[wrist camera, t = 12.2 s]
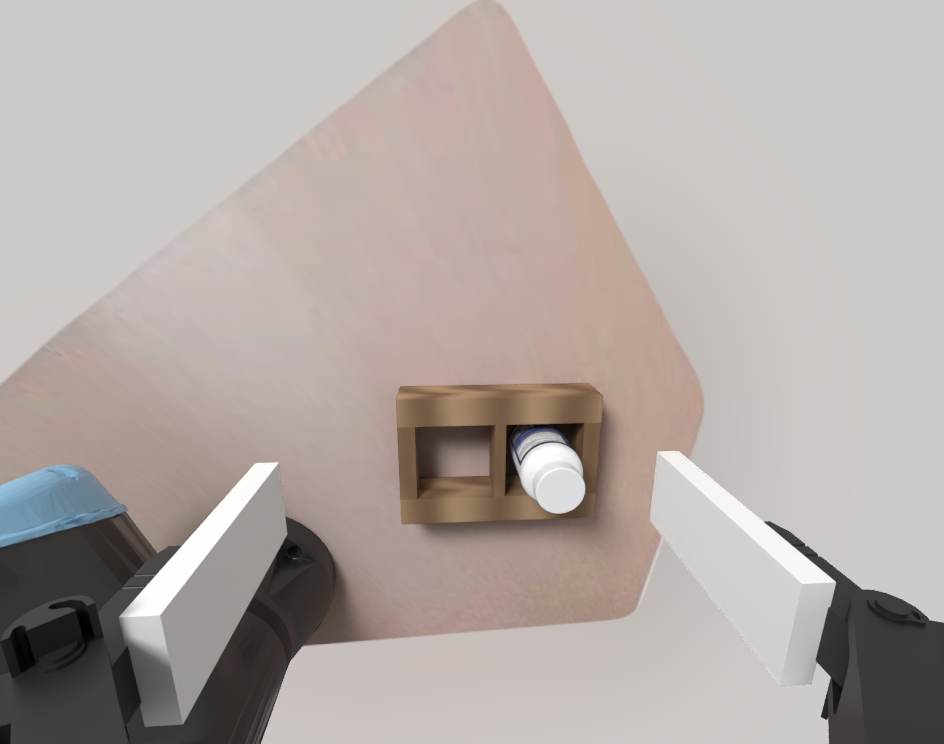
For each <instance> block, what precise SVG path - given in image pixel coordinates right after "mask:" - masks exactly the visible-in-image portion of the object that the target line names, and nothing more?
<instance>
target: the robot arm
mask: <svg viewBox="0 0 944 744" xmlns="http://www.w3.org/2000/svg"><path fill="white" fill-rule="evenodd" d="M126 511H128V510H127V507H126V506H125V505H121V504H119V503H118V502H117V501H116V500H115V498H114V497H113V496H112V495H111V494H110V493H109V492H108V491H107V490H106V488H105V487H104V486H103V485H102V484H101V483H100V482H99V481H98V480H97V479H96V477H95V476H94V475H93V474H92V473H91V472H89V471H88V470H86V469H84V468H82V467H79V466H76V465H69V464H60V465H54V466H50V467H46V468H43V469H41V470H38V471H35V472H33V473H30V474H28V475H25V476H23V477H20V478H18V479H15V480H12V481H10V482H7V483H5V484H2V485H0V744H261V741H262V739H263V736H264V732H265V730H266V727H267V724H268V721H269V718H270V716H271V713H272V710H273V707H274V704H275V702H276V699H277V696H278V693H279V690H280V687H281V684H282V681H283V679H284V676H285V673H286V670H287V668H288V665H289V663H290V661H291V659H292V658H293V657H294V656H295V655H296V653H297V652H298V651H299V650H300V649H301V647H302V646H303V645H304V644H305V642H306V641H307V640H308V638H309V637H310V636H311V635H312V633H313V632H314V631H315V630H316V629H317V628H318V626H319V625H320V624H321V622H322V621H323V619H324V617H325V615H326V613H327V610H328V608H329V605H330V601H331V598H332V595H333V592H334V588H335V569H334V565H333V562H332V559H331V556H330V554H329V552H328V550H327V549H326V547H325V546H324V544H323V543H322V542H321V541H320V539H319V538H318V537H317V536H316V535H315V534H314V533H312V532H311V531H310V530H309V529H307V528H306V527H304V526H303V525H301V524H300V523H298V522H296V521H294V520H292V519H289V518H287V517H285V510H284V501H283V493H282V484H281V476H280V467H279V462H278V463H255V464H254V465H253V467H252V468H251V469H250V470H249V471H248V472H247V473H246V474H245V476H244V477H243V478H242V479H241V480H240V481H239V482H238V483H237V485H236V486H235V487H234V488H233V489H232V490H231V491H230V492H229V494H228V495H227V496H226V497H225V498H224V499H223V500H222V502H221V503H220V504H219V505H218V506H217V507H216V508H215V509H214V511H213V512H212V513H211V514H210V515H209V516H208V517H207V518H206V520H205V521H204V522H203V523H202V524H201V525H200V526H199V527H198V529H197V530H196V531H195V532H194V533H193V534H192V535H191V536H190V538H189V539H188V540H187V541H186V542H185V543H184V544H183V545H182V546H169V547H167V548H166V549H164V550H162V551H161V552H159V553H157V552H156V550H155V549H154V548H153V547H152V545H151V544H150V543H149V541H148V540H147V539H146V538H145V536H144V535H143V534H142V533H141V531H140V530H139V529H138V527H137V526H136V525H135V523H134V522H133V521H132V519H131V518H130V517H129V515H128V514H127V513H126ZM650 521H651V523H652V524H653V525H654V526H655V528H656V529H657V530H658V532H659V533H660V534H661V535H662V537H663V538H664V539H665V540H666V542H667V543H668V544H669V545H670V547H671V548H672V549H673V551H674V552H675V553H676V554H677V556H678V557H679V558H680V560H681V561H682V562H683V563H684V565H685V566H686V567H687V568H688V570H689V571H690V572H691V574H692V575H693V576H694V577H695V579H696V580H697V581H698V583H699V584H700V585H701V586H702V588H703V589H704V590H705V591H706V593H707V594H708V595H709V597H710V598H711V599H712V600H713V602H714V603H715V604H716V606H717V607H718V608H719V609H720V611H721V612H722V613H723V614H724V616H725V617H726V618H727V619H728V621H729V622H730V623H731V625H732V626H733V627H734V628H735V630H736V631H737V632H738V634H739V635H740V636H741V637H742V639H743V640H744V641H745V642H746V643H747V645H748V646H749V648H750V649H751V650H752V651H753V653H754V654H755V655H756V657H757V658H758V659H759V660H760V661H761V663H762V664H763V665H764V667H765V668H766V669H767V671H768V672H769V673H770V674H771V676H772V677H773V678H774V680H775V681H776V682H777V683H778V685H779V686H790V685H805V684H812V680H813V676H814V672H815V668H816V664H817V662H818V664H820V666H821V667H822V668H823V669H824V670H825V671H826V672H827V673H828V674H829V675H830V676H831V679H830V683H829V687H828V691H827V695H826V699H825V703H824V707H823V711H822V715H821V717H822V718H824V719H826V720H827V719H828V721H829V744H944V623H941V622H936V621H930V620H929V619H928V617H927V616H925V615H924V614H923V613H922V612H921V611H919V610H918V609H917V608H916V607H914V606H912V605H910V604H909V603H907V602H905V601H904V600H902V599H899V598H897V597H894V596H892V595H889V594H887V593H883V592H879V591H875V590H862V589H861V588H860V587H858V586H857V585H856V584H854V583H853V582H852V581H851V580H850V579H848V578H847V577H846V576H845V575H843V574H842V573H841V572H840V571H838V570H837V569H836V568H834V567H833V566H832V565H831V564H829V563H828V562H827V561H826V560H824V559H823V558H822V557H818V554H817V553H816V552H814V551H813V550H812V549H810V548H809V547H808V546H807V547H806V546H805V544H804V543H803V542H802V541H801V540H799V539H798V538H797V537H795V536H794V535H793V534H792V533H791V532H789V531H787V530H785V529H783V528H781V527H779V526H777V525H775V524H773V523H772V522H770V521H769V522H763V521H762V520H761V519H759V518H758V517H757V516H756V515H755V514H753V513H752V512H751V511H750V510H748V509H747V508H746V507H745V506H744V505H743V504H741V503H740V502H739V501H737V500H736V499H735V498H734V497H733V496H732V495H731V494H729V493H728V492H727V491H726V490H725V489H723V488H722V487H721V486H720V485H718V484H717V483H716V482H715V481H714V480H712V479H711V478H710V477H709V476H708V475H706V474H705V473H704V472H703V471H702V470H700V469H699V468H698V467H697V466H696V465H694V464H693V463H692V462H691V461H690V460H688V459H687V458H686V457H685V456H684V455H682V454H681V453H680V452H679V451H666V452H657V461H656V469H655V478H654V487H653V496H652V504H651V513H650Z"/></svg>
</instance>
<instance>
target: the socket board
mask: <svg viewBox="0 0 944 744" xmlns="http://www.w3.org/2000/svg"><path fill="white" fill-rule="evenodd" d="M602 406H603V395H602V394H601V393H600V392H598V391H597V390H596V389H595V388H594V387H593V386H591V385H590V384H589V383H570V384H514V385H459V386H404V387H400V389H399V392H398V395H397V399H396V409H397V432H398V455H399V477H400V500H401V522H402V524H423V523H450V522H476V521H503V520H529V519H556V518H582V517H594V508H595V495H596V482H597V470H598V457H599V444H600V431H601V419H602ZM563 423H571V433H570V445H571V446H572V448H573V449H574V451H575V452H576V454H577V455H578V457H579V459H580V461H581V463H582V467H583V480H584V483H585V495H584V497H583V500H582V501H581V503H580V504H579V505H578V506H577V507H576V508H574V509H573V510H571V511H569V512H566V513H562V514H556V513H551V512H548V511H546V510H545V509H543V508H542V507H541V506H540V505H539V503H538V501H537V500H535V499H533V498H532V497H530V496H529V495H528V494H527V493H526V491H525V490H524V488H523V486H522V484H521V481H520V478H519V475H505V467H506V425H521V424H563ZM479 425H490V475H489V476H472V477H440V478H419V454H418V427H437V426H479Z"/></svg>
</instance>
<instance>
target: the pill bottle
mask: <svg viewBox="0 0 944 744" xmlns="http://www.w3.org/2000/svg"><path fill="white" fill-rule="evenodd" d="M509 448H510V453H511V456H512V459H513V462H514V464H515V467H516V470H517V473H518V475H519V478H520V481H521V484H522V486H523V488H524V490H525V491H526V493H527V494H528V495H529V496H530V497H532V498H533V499H535V500H537V501H538V503H539V505H540V506H541V507H542V508H543V509H545V510H546V511H548V512H551V513H556V514H562V513H566V512H569V511H571V510H573V509H574V508H576V507H577V506H578V505H579V504H580V503H581V501H582V500H583V497H584V495H585V483H584V480H583V467H582V463H581V461H580V459H579V457H578V455H577V454H576V452H575V451H574V449H573V448H572V446H571V445H570V443H569V442H568V441H567V439H566V438H565V436H564V435H563V433H562V432H561V431H560V429H559V428H558V427H557V426H556V425H555V424H521V425H518V426H517V427H516V428H515V429H514V430H513V432H512V434H511V437H510V440H509Z"/></svg>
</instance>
